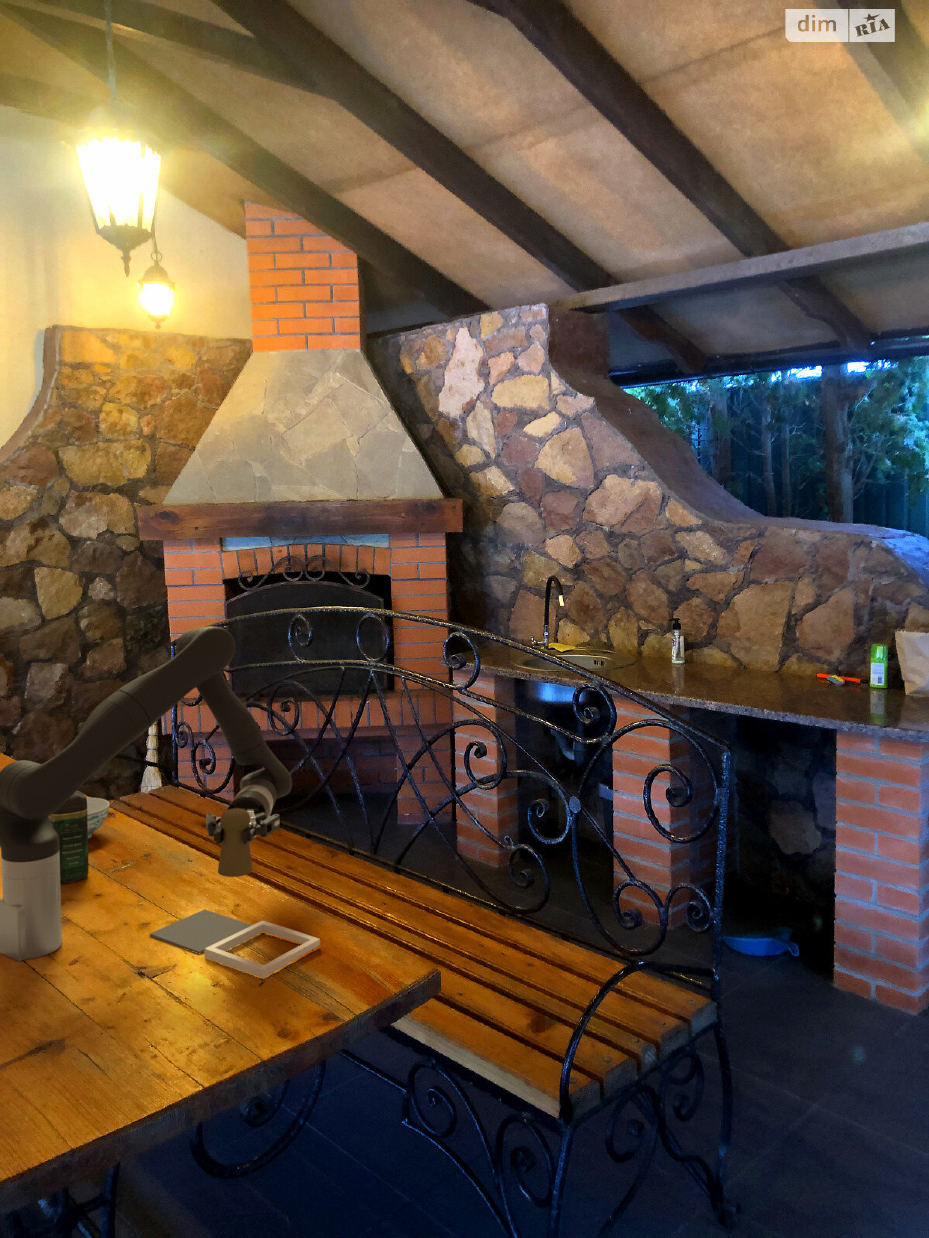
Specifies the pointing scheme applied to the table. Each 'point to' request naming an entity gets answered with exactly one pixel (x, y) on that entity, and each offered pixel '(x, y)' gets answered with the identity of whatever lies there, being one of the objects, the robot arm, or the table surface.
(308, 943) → the white square frame
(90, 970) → the table surface
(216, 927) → the mat
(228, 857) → the cork
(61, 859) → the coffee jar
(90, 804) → the chinaware
